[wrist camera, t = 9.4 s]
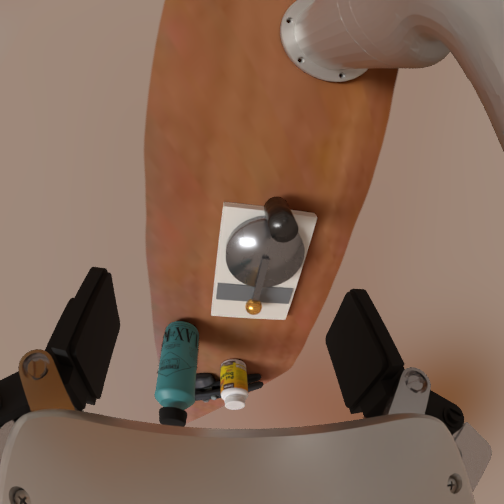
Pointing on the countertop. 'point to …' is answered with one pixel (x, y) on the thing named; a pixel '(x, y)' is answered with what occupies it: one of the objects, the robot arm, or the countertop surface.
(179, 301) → the countertop surface
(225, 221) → the stand
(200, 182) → the countertop surface
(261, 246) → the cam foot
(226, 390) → the supplement bottle
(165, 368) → the beverage bottle
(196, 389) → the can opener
